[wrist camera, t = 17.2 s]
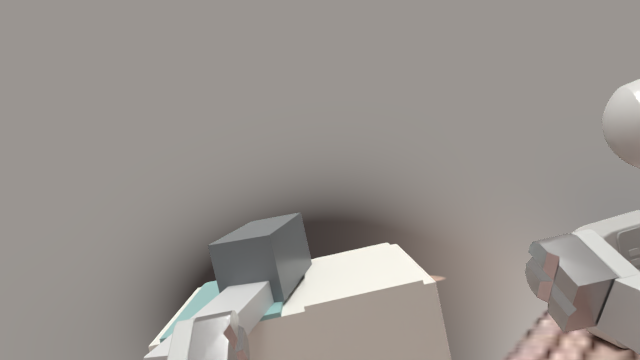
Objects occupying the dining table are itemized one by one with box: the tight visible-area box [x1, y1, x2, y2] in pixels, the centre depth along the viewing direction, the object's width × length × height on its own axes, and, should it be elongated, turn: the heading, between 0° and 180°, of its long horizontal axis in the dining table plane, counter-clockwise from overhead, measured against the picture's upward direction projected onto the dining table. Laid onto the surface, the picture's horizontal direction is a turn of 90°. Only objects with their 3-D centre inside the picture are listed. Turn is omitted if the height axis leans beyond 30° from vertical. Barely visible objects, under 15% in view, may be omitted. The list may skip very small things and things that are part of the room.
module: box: [143, 213, 312, 360], centre depth 33 cm, size 22×6×6 cm, turn 167°
